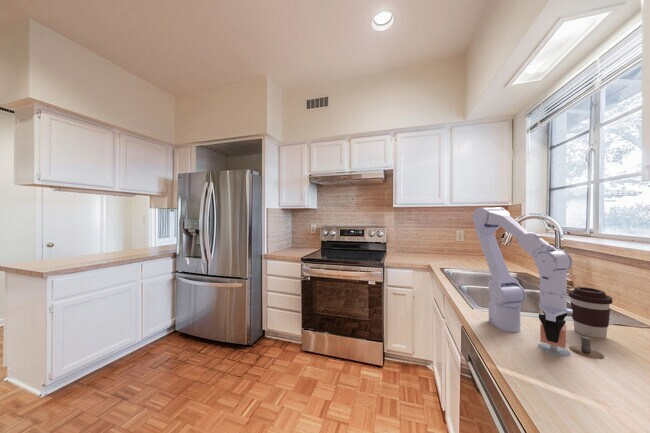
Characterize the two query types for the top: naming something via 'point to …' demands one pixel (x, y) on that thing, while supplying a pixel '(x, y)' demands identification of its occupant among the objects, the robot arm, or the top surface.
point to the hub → (586, 349)
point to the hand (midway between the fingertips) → (553, 337)
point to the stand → (554, 350)
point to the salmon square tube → (560, 342)
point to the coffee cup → (590, 311)
